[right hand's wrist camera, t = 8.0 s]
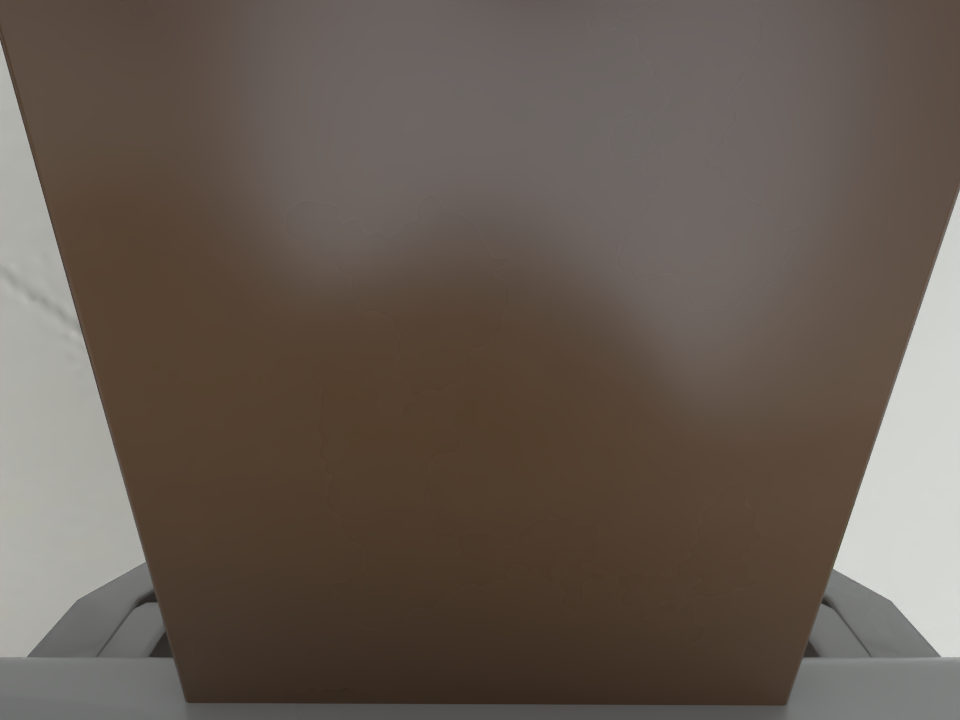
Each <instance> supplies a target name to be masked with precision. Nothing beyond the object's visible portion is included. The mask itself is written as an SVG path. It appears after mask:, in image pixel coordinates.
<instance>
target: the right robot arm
mask: <svg viewBox="0 0 960 720" xmlns="http://www.w3.org/2000/svg"><path fill="white" fill-rule="evenodd" d="M0 720H960V657H941V656H940V655H939V654H938V653H937V652H936V651H935V649H934V648H933V647H932V646H931V645H930V644H929V643H928V642H927V641H926V639H925V638H924V637H923V636H922V635H921V634H920V633H919V632H918V631H917V629H916V628H915V627H914V626H913V625H912V624H911V623H910V622H909V621H908V619H907V618H906V617H905V616H904V615H903V614H902V613H901V612H900V611H899V609H898V608H897V607H896V606H895V605H894V604H893V603H892V602H891V601H890V600H888V599H886V598H885V597H883V596H881V595H879V594H877V593H876V592H874V591H872V590H870V589H868V588H866V587H865V586H863V585H861V584H859V583H857V582H856V581H854V580H852V579H850V578H848V577H847V576H845V575H843V574H841V573H839V572H837V571H836V570H834V569H832V572H831V575H830V578H829V581H828V584H827V587H826V590H825V593H824V596H823V599H822V602H821V605H820V608H819V611H818V614H817V617H816V620H815V623H814V626H813V629H812V632H811V635H810V638H809V641H808V644H807V647H806V650H805V653H804V656H803V659H802V661H801V664H800V667H799V670H798V673H797V676H796V679H795V682H794V685H793V688H792V691H791V694H790V697H789V700H788V703H787V704H786V705H784V706H780V705H539V704H297V703H188V702H185V698H184V695H183V691H182V688H181V684H180V680H179V677H178V673H177V670H176V666H175V663H174V659H173V655H172V652H171V648H170V645H169V641H168V638H167V634H166V630H165V627H164V623H163V620H162V616H161V613H160V609H159V605H158V602H157V598H156V595H155V591H154V588H153V584H152V580H151V577H150V573H149V570H148V566H147V562H145V563H143V564H142V565H140V566H138V567H136V568H134V569H133V570H131V571H129V572H127V573H125V574H124V575H122V576H120V577H118V578H116V579H115V580H113V581H111V582H109V583H107V584H106V585H104V586H102V587H100V588H98V589H97V590H95V591H93V592H91V593H89V594H88V595H86V596H84V597H82V598H80V599H79V600H77V601H76V602H75V604H74V605H73V606H72V607H71V608H70V609H69V610H68V611H67V612H66V614H65V615H64V616H63V617H62V618H61V619H60V620H59V621H58V623H57V624H56V625H55V626H54V627H53V628H52V629H51V630H50V632H49V633H48V634H47V635H46V636H45V637H44V638H43V639H42V641H41V642H40V643H39V644H38V645H37V646H36V647H35V648H34V650H33V651H32V652H31V653H30V654H29V655H28V656H27V657H0Z"/></svg>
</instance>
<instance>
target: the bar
mask: <svg viewBox="0 0 960 720" xmlns="http://www.w3.org/2000/svg"><path fill="white" fill-rule="evenodd" d="M0 41H1V44H2V48H3V52H4V55H5V59H6V62H7V66H8V69H9V73H10V77H11V80H12V84H13V87H14V91H15V94H16V98H17V102H18V105H19V109H20V112H21V116H22V119H23V123H24V127H25V130H26V134H27V137H28V141H29V144H30V148H31V152H32V155H33V159H34V162H35V166H36V170H37V173H38V177H39V180H40V184H41V187H42V191H43V195H44V198H45V202H46V205H47V209H48V212H49V216H50V220H51V223H52V227H53V230H54V234H55V237H56V241H57V245H58V248H59V252H60V255H61V259H62V262H63V266H64V270H65V273H66V277H67V280H68V284H69V287H70V291H71V295H72V298H73V302H74V305H75V309H76V312H77V316H78V320H79V323H80V327H81V330H82V334H83V337H84V341H85V345H86V348H87V352H88V355H89V359H90V362H91V366H92V370H93V373H94V377H95V380H96V384H97V387H98V391H99V395H100V398H101V402H102V405H103V409H104V412H105V416H106V420H107V423H108V427H109V430H110V434H111V437H112V441H113V445H114V448H115V452H116V455H117V459H118V462H119V466H120V470H121V473H122V477H123V480H124V484H125V487H126V491H127V495H128V498H129V502H130V505H131V509H132V512H133V516H134V520H135V523H136V527H137V530H138V534H139V537H140V541H141V545H142V548H143V552H144V555H145V559H146V562H147V566H148V570H149V573H150V577H151V580H152V584H153V588H154V591H155V595H156V598H157V602H158V605H159V609H160V613H161V616H162V620H163V623H164V627H165V630H166V634H167V638H168V641H169V645H170V648H171V652H172V655H173V659H174V663H175V666H176V670H177V673H178V677H179V680H180V684H181V688H182V691H183V695H184V698H185V702H188V703H297V704H539V705H780V706H784V705H786V704H787V703H788V700H789V697H790V694H791V691H792V688H793V685H794V682H795V679H796V676H797V673H798V670H799V667H800V664H801V661H802V659H803V656H804V653H805V650H806V647H807V644H808V641H809V638H810V635H811V632H812V629H813V626H814V623H815V620H816V617H817V614H818V611H819V608H820V605H821V602H822V599H823V596H824V593H825V590H826V587H827V584H828V581H829V578H830V575H831V572H832V569H833V566H834V563H835V560H836V557H837V554H838V551H839V548H840V545H841V542H842V539H843V536H844V533H845V530H846V527H847V524H848V521H849V518H850V515H851V512H852V509H853V506H854V503H855V500H856V497H857V494H858V491H859V489H860V486H861V483H862V480H863V477H864V474H865V471H866V468H867V465H868V462H869V459H870V456H871V453H872V450H873V447H874V444H875V441H876V438H877V435H878V432H879V429H880V426H881V423H882V420H883V417H884V414H885V411H886V408H887V405H888V402H889V399H890V396H891V393H892V390H893V387H894V384H895V381H896V378H897V375H898V372H899V369H900V366H901V363H902V360H903V357H904V354H905V351H906V348H907V345H908V342H909V339H910V336H911V333H912V330H913V327H914V324H915V321H916V319H917V316H918V313H919V310H920V307H921V304H922V301H923V298H924V295H925V292H926V289H927V286H928V283H929V280H930V277H931V274H932V271H933V268H934V265H935V262H936V259H937V256H938V253H939V250H940V247H941V244H942V241H943V238H944V235H945V232H946V229H947V226H948V223H949V220H950V217H951V214H952V211H953V208H954V205H955V202H956V199H957V196H958V193H959V190H960V0H0Z"/></svg>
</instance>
